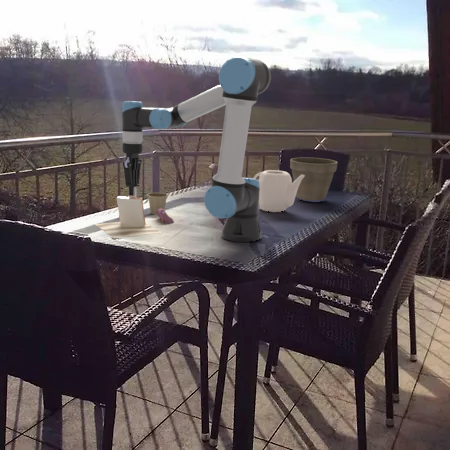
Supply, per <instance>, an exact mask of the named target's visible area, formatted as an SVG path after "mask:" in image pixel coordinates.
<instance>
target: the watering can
mask: <svg viewBox="0 0 450 450" xmlns="http://www.w3.org/2000/svg"><path fill="white" fill-rule="evenodd" d="M304 176H305V175H300V176H299V177H298V178H297V179H296V180H295V181H294V180H293V177H291V174H290V173H289V172H287V171H284V170H278V169H277V170H275V169H267V170H264V171H259V172H257V173H256V174H254V176H253V177H252V178H253V179H257V177H258V180H259V183H260V191H259V206H258V207H259V208H260V210H262V211H263V212H268V211H269V212H270V213H282V212H281V211H283V212H284V210H285V211H286V210H287V208H289V207H290V208H291V207H292V206H293V205H294V202H295V200H296V198H297V195H296V193H297V190H298V187H299V185H300V183H301V180H302V179H303V178H304Z"/></svg>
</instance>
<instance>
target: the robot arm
mask: <svg viewBox="0 0 450 450" xmlns="http://www.w3.org/2000/svg"><path fill="white" fill-rule="evenodd" d="M271 79H272V76H271V70H270V69H269V67H268V65H267V64H266V63H264V61H262V60H260V59H259V60H258V59H254V58H251V57H247V56H234V57H230V58H228V59H227V60H226V61H225V62H224V63H223V64H222V66H221V68H220V70H219V73H218V81H219V84H217V85H216V86H214V87H212V88H210V89H207V90H206V91H203V92H201V93H200V94H197V95H196V96H193V97H191V98H189V99H187V100H185V101H182V102H180V103H178V104H177V105H174V106H172V107H145V106H144V105H143V102H142V101H136V100H135V101H134V100H132V101H131V100H125V101H123V103H122V108H121V109H122V111H121V114H122V115H121V119H122V133H121V136H122V142H123V143H122V153H123V154H125V155H126V156H125V161H123V162H122V166H123V171H124V182H125V183H124V184H125V187H127V188H128V197H135V198H138V197H137V196H138V195H137V191H138V189H137V187H140V179H141V178H140V177H141V168H142V162H143V160H142V159H141V158H140V154H142V153H143V139H144V138H143V129H144V128H145V129H153V130H166V129H169V128H170V129H179V128H182V127H185V126H186V125H187V124H188V123H189V122H191V121H194V120H196V119H198V118H200V117H202V116H204V115H207V114H209V113H211V112H213V111H215V110H217V109H220V108H222V107H224V106H225V111H224V117H223V118H224V119H223V125H222V126H223V127H222V135H221V142H220V150H219V159H218V166H217V172H216V174H214V175H213V176H212V179H211V186H210V187H209V188H208V189H207V190H206V192H205V193H204V197H203V198H204V199H203V202H204V206H205V209H206V210H207V211H208V213H209V214H210V215H211V216H212V217H214V218H217V219H226V220H225V222H224V225H223V227H222V230H221V237H222V238H223V239H225V240H227V241H230V242H231V241H232V242H239V243H251V242H250V241H253V242H256V240H258V241H260V240H261V239H262V230H261V226H260V221H259V207H260V206H259V191H260V183H259V179H257V178H256V179H253V178H254V177H243V170H244V162H245V158H246V157H245V156H246V155H245V154H246V150H247V149H246V148H247V142H248V135H249V134H248V133H249V127H250V122H251V113H252V107H253V106H254V104H256V103H257V101H258V95H260V94H262V93H264V92H265V91H266V90H268V88H269V86H270V83H271ZM259 239H260V240H259Z"/></svg>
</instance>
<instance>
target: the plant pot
mask: <svg viewBox="0 0 450 450" xmlns="http://www.w3.org/2000/svg"><path fill="white" fill-rule="evenodd" d="M289 161H290V162H289V163H290V165H289V168H290V169H291V173H292V174H291V175H292V181H293V182H294V181H295V180H296V179H297V178H298V177H299V176H300V175H305V176H304V178H303V179H302V180H301V183H300V185H299V187H298V190H297V193H296V198H299V199H303V200H322V199H325V200H326V198H327V195H328V191H329V189H330V187H331V183H332V181H333V178H334V174H335V173H336V172H337V170H338V169H337V168H338V161H337V160H333V159H329V158H322V157H321V158H320V157H294V158H293V157H292V158H290V160H289Z"/></svg>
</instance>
